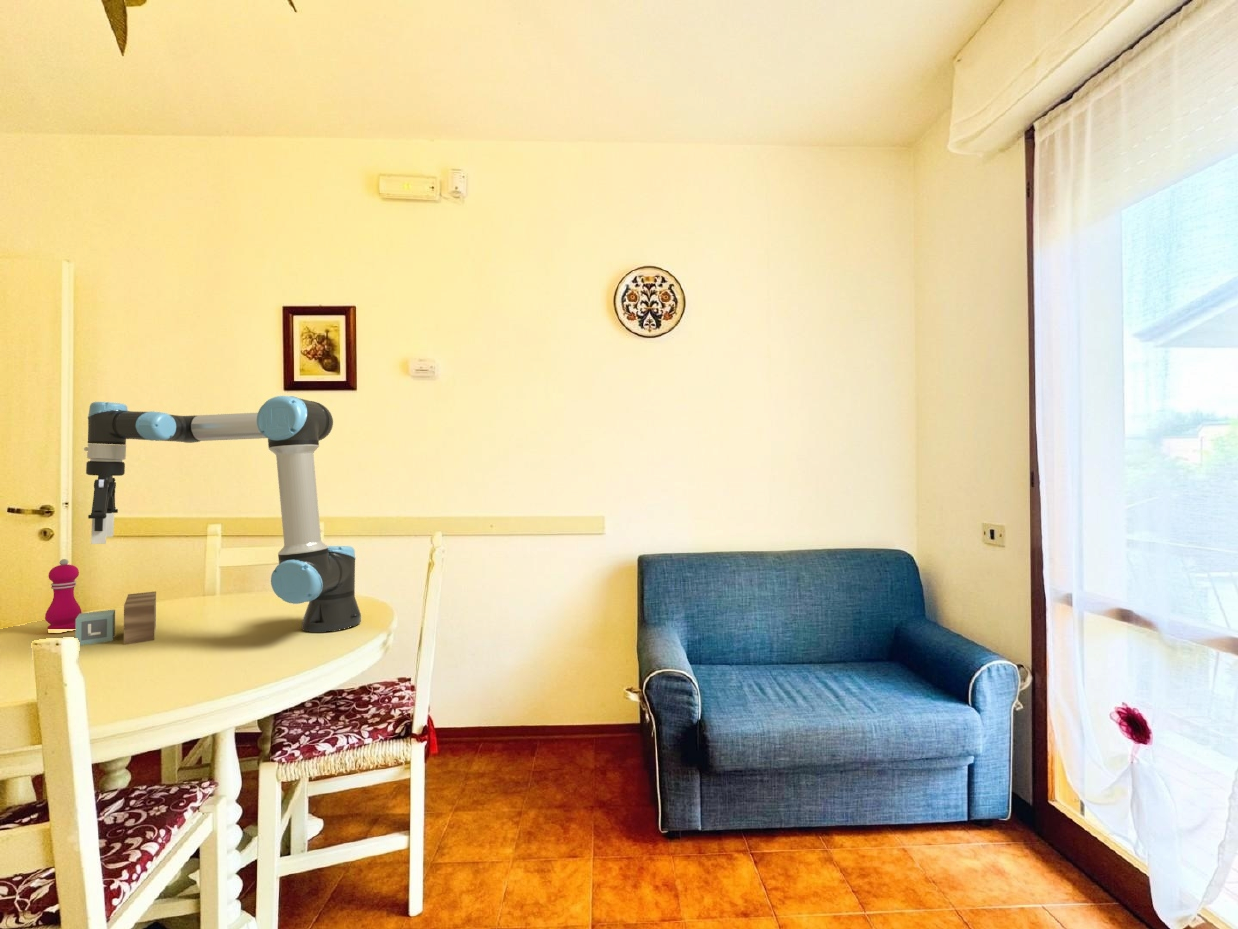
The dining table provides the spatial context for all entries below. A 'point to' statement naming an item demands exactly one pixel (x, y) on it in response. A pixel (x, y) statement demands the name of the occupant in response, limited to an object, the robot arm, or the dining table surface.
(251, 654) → the dining table surface
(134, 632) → the walnut box
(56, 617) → the pepper mill
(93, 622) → the letter cube
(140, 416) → the robot arm
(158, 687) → the dining table surface
